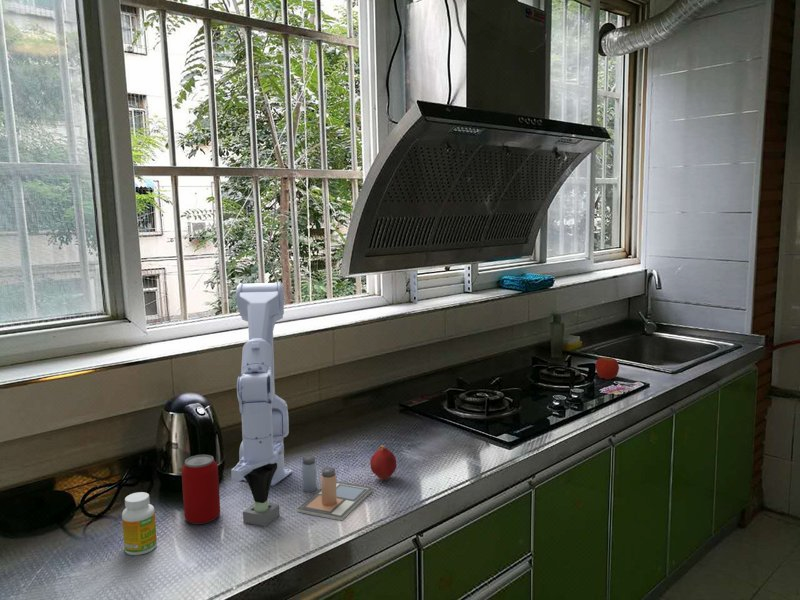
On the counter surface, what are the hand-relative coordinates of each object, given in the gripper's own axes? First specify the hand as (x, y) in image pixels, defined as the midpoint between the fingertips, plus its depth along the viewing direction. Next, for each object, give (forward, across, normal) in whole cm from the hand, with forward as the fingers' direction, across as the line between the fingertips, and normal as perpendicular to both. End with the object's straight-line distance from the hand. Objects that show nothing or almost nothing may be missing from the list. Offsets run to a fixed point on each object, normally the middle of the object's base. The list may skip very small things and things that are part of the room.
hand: (260, 501), depth 123 cm
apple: (+4, +129, -54) cm, 140 cm away
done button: (+4, 0, 0) cm, 4 cm away
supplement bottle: (+4, -17, +14) cm, 22 cm away
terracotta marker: (+3, +10, -10) cm, 14 cm away
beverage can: (+4, -4, +11) cm, 12 cm away
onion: (+4, +25, -15) cm, 29 cm away
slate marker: (+4, +15, -2) cm, 16 cm away
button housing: (+4, 0, 0) cm, 4 cm away
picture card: (+4, +12, -10) cm, 16 cm away
